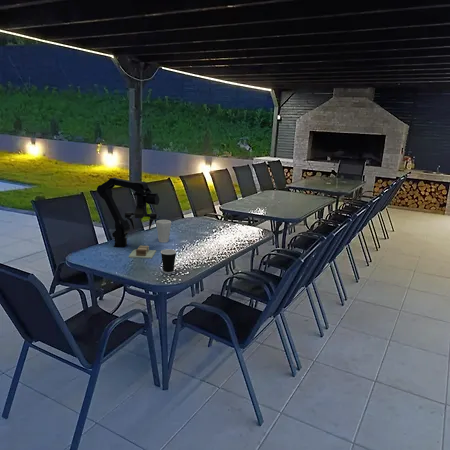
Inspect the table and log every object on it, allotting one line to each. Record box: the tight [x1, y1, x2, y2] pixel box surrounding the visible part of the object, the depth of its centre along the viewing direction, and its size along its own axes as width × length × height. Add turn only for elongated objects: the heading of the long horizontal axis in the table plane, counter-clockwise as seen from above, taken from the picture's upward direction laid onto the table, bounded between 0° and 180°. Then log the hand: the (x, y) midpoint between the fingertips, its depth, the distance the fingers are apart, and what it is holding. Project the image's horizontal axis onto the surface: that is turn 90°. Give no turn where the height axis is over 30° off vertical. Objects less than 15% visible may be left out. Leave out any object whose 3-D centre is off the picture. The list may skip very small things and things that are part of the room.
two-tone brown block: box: [136, 245, 150, 256], centre depth 227 cm, size 10×5×3 cm, turn 179°
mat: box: [128, 248, 157, 260], centre depth 227 cm, size 13×13×1 cm
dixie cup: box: [160, 248, 177, 275], centre depth 200 cm, size 8×8×11 cm
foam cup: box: [155, 219, 172, 244], centre depth 254 cm, size 10×9×13 cm
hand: (141, 229), depth 235 cm, fingers open, 9 cm apart
